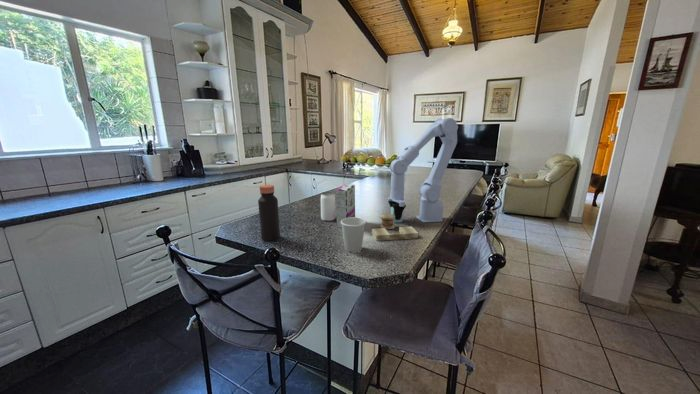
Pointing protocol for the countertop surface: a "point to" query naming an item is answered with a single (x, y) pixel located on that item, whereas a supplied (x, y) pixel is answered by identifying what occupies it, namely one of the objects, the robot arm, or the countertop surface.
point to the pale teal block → (394, 214)
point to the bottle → (268, 214)
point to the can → (327, 206)
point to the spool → (387, 221)
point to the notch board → (394, 234)
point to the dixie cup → (353, 233)
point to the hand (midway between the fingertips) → (396, 217)
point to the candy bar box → (345, 203)
